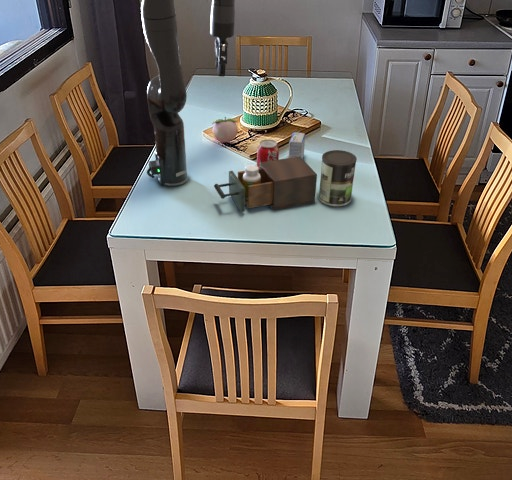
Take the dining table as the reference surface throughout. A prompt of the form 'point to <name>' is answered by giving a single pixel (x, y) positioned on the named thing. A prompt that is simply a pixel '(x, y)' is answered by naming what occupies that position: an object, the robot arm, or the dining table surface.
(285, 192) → the cabinet
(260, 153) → the soda can
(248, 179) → the supplement bottle
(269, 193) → the drawer
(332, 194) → the coffee can
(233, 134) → the decorative fruit
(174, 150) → the robot arm
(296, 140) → the medicine box
